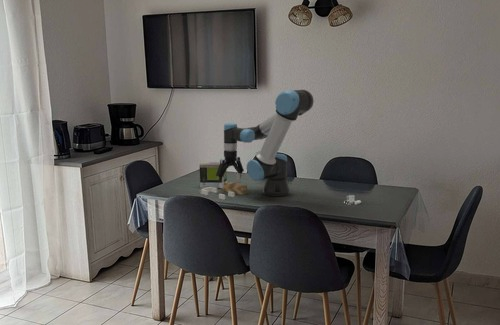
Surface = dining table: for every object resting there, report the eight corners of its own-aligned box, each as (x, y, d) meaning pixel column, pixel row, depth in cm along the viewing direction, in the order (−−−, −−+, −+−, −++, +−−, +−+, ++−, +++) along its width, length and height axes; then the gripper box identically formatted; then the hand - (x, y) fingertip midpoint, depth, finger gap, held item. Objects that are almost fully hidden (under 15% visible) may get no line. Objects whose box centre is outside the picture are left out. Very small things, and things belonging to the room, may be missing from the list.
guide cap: (234, 196, 275) (234, 192, 274) (223, 199, 269) (223, 195, 268) (229, 195, 278) (229, 191, 277) (218, 198, 272) (218, 194, 271)
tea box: (227, 184, 304) (226, 161, 301) (224, 188, 294) (224, 164, 291) (202, 184, 305) (202, 160, 302) (199, 188, 295) (199, 164, 293)
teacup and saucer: (363, 204, 261) (363, 196, 260) (352, 206, 257) (352, 198, 256) (351, 200, 268) (351, 193, 267) (340, 202, 264) (340, 195, 263)
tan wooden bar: (247, 194, 282) (247, 185, 281) (242, 195, 279) (242, 186, 278) (226, 189, 293) (226, 181, 292) (222, 190, 290) (222, 182, 289)
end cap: (217, 192, 284) (217, 188, 284) (206, 195, 278) (206, 191, 278) (210, 190, 288) (210, 186, 288) (199, 193, 282) (199, 189, 282)
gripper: (240, 146, 295) (240, 181, 299) (209, 151, 277) (209, 188, 281) (250, 148, 290) (249, 183, 294) (219, 153, 272) (218, 190, 276)
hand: (230, 185), depth 288 cm, fingers open, 13 cm apart
